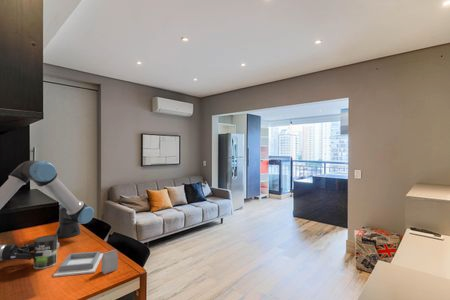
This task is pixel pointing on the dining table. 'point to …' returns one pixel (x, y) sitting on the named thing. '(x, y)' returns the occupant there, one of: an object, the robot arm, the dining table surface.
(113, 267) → the white printed box
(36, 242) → the coffee can
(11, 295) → the dining table surface
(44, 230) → the dining table surface
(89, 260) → the caddy
